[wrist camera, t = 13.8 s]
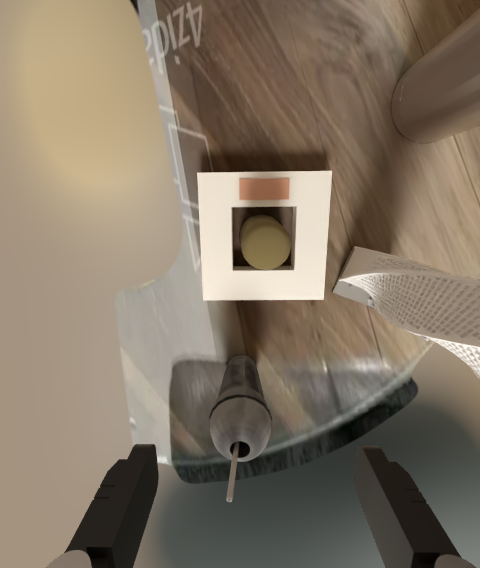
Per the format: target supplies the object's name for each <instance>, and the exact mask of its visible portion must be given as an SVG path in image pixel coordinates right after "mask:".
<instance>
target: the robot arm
mask: <svg viewBox="0 0 480 568" xmlns="http://www.w3.org/2000/svg"><path fill="white" fill-rule="evenodd" d="M392 116H393V120H394V123H395V125H396V127H397V129H398V130H399V131H400V133H401V134H402V135H403V136H405V137H406V138H407V139H409V140H411V141H413V142H418V143H430V142H434V141H438V140H441V139H444V138H446V137H449V136H452V135H455V134H458V133H461V132H463V131H466V130H469V129H472V128H475V127H477V126H480V8H479V9H478V10H476V11H475V12H474V13H473V14H472V15H471V16H469V17H468V18H467V19H466V20H465V21H464V22H462V23H461V24H460V25H459V26H458V27H457V28H455V29H454V30H453V31H452V32H451V33H450V34H449V35H447V36H446V37H445V38H444V39H443V40H442V41H440V42H439V43H438V44H437V45H436V46H435V47H433V48H432V49H431V50H430V51H429V52H427V53H426V54H425V55H424V56H423V57H422V58H420V59H419V60H418V61H417V62H416V63H415V64H414V65H412V66H411V67H410V68H409V69H408V70H407V71H406V72H405V73H404V74H403V76H402V77H401V79H400V80H399V82H398V83H397V85H396V88H395V90H394V93H393V98H392ZM354 483H355V489H356V493H357V496H358V499H359V501H360V504H361V506H362V509H363V511H364V514H365V516H366V519H367V522H368V524H369V527H370V529H371V532H372V534H373V537H374V539H375V542H376V544H377V547H378V549H379V552H380V555H381V557H382V560H383V562H384V565H385V568H476V567H475V566H474V565H472V564H471V563H469V562H468V561H466V560H464V559H462V558H461V556H460V555H459V553H458V552H457V550H456V548H455V547H454V545H453V544H452V542H451V540H450V539H449V537H448V536H447V534H446V532H445V531H444V529H443V528H442V526H441V524H440V523H439V521H438V519H437V518H436V516H435V515H434V513H433V512H432V510H431V508H430V507H429V505H428V504H427V503H426V500H425V499H424V497H423V496H422V494H421V492H419V490H418V487H417V486H416V484H415V482H414V481H413V480H412V478H411V476H410V474H408V472H406V471H405V470H404V469H403V468H402V467H401V466H400V465H399V464H398V463H397V462H389V461H388V460H387V458H386V456H385V454H384V453H383V451H382V449H381V448H380V447H379V446H359V447H358V448H357V457H356V465H355V474H354ZM157 487H158V465H157V455H156V447H155V445H154V444H136V445H134V447H133V449H132V451H131V453H130V455H129V457H128V459H127V460H125V459H122V460H121V459H119V460H118V461H117V462H116V463H115V464H114V466H112V468H111V469H110V470H109V471H108V472H107V474H106V476H105V477H104V480H103V481H102V483H101V485H100V488H99V489H98V491H97V493H96V495H95V497H94V500H92V502H91V504H90V506H89V508H88V510H87V512H86V514H85V516H84V518H83V519H82V521H81V523H80V525H79V527H78V529H77V531H76V533H75V535H74V537H73V539H72V540H71V543H70V544H69V546H68V548H67V550H66V551H65V552H64V554H62V555H60V556H59V557H57V558H56V559H54V560H53V561H52V562H51V563H50V564H49V565H48V566H47V567H46V568H133V565H134V562H135V559H136V556H137V553H138V550H139V546H140V543H141V540H142V537H143V534H144V530H145V527H146V524H147V521H148V518H149V514H150V511H151V508H152V505H153V502H154V498H155V495H156V492H157Z"/></svg>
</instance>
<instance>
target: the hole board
mask: <svg viewBox="0 0 480 568" xmlns="http://www.w3.org/2000/svg"><path fill="white" fill-rule="evenodd" d="M197 175H198V197H199V219H200V241H201V263H202V285H203V300H323V299H324V284H325V269H326V254H327V239H328V224H329V209H330V193H331V178H332V171H285V172H213V173H197ZM292 206H293V215H292V244H291V266H279V267H276V268H274V269H271V270H261V269H257V268H255V267H253V266H233V209H232V207H292Z"/></svg>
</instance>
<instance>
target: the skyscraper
mask: <svg viewBox="0 0 480 568" xmlns="http://www.w3.org/2000/svg"><path fill="white" fill-rule="evenodd" d="M332 292H333V293H335V294H338V295H341V296H343V297H346V298H349V299H351V300H354V301H357V302H359V303H362V304H365V305H367V306H370V307H373V308H375V309H376V310H377V311H378V313H379V314H380V315H381V316H382V317H383V318H384V319H386V320H387V321H388V322H390V323H391V324H393V325H395V326H397V327H399V328H401V329H403V330H406V331H408V332H411V333H413V334H414V335H417V336H418V335H420V336H421V337H422V338H423V339H425V340H426V341H428V340H429V339H431V340H433V341H434V342H436V343H438V344H440V345H442V346H443V347H445V348H446V349H448V350H449V351H451V352H453V353H454V354H455V355H457V356H458V357H459V358H460V359H462V360H463V361H464V362H466V363H467V364H468V365H469V367H470V368H471V369H472V370H473V372H474V373H475V374H476V376H477V377H478V378H479V379H480V280H479V279H474V278H468V277H463V276H457V275H452V274H449V273H447V272H444V271H442V270H439V269H436V268H433V267H431V266H428V265H425V264H422V263H419V262H416V261H412V260H409V259H405V258H402V257H398V256H394V255H391V254H387V253H383V252H379V251H374V250H370V249H366V248H361V247H357V246H353V248H352V250H351V252H350V254H349V257H348V259H347V261H346V263H345V265H344V267H343V269H342V271H341V273H340V275H339V277H338V280H337V282H336V284H335V286H334V288H333V290H332Z"/></svg>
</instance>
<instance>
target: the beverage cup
mask: <svg viewBox="0 0 480 568" xmlns="http://www.w3.org/2000/svg"><path fill="white" fill-rule="evenodd" d="M209 423H210V433H211V437H212V440H213V442H214V445H215V447H216V448H217V449H218V451H219V452H220V453H221V454H222V455H223V456H225V457H226V458H228V459H230V460H232V463H231V471H230V478H229V486H228V492H227V501H228V502H231V501H232V498H233V490H234V482H235V474H236V466H237V461H242V462H244V461H248V460H251V459H253V458H255V457H256V456H258V455H259V454H260V453H261V452H262V451H263V450H264V448H265V447H266V444H267V442H268V440H269V437H270V433H271V427H272V417H271V414H270V411H269V409H268V407H267V405H266V402H265V400H264V396H263V392H262V387H261V383H260V379H259V374H258V371H257V368H256V364H255V362H254V361H253V359H251V358H250V357H248V356H245V355H238V356H235V357H233V358H232V359H231V360H230V361H229V362H228V365H227V368H226V371H225V374H224V378H223V381H222V385H221V388H220V392H219V396H218V399H217V401H216V403H215V405H214V407H213V409H212V411H211V414H210V416H209Z"/></svg>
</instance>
